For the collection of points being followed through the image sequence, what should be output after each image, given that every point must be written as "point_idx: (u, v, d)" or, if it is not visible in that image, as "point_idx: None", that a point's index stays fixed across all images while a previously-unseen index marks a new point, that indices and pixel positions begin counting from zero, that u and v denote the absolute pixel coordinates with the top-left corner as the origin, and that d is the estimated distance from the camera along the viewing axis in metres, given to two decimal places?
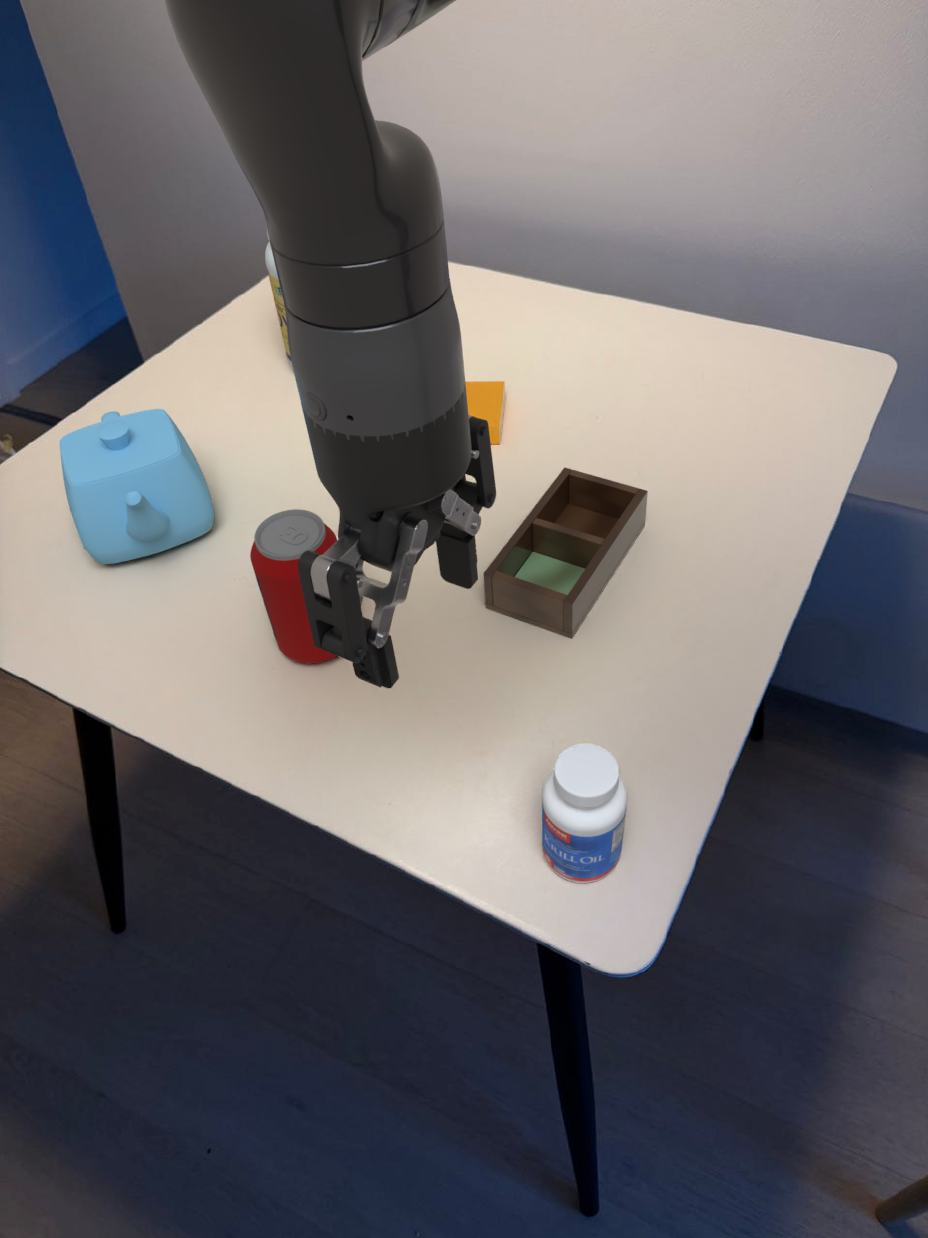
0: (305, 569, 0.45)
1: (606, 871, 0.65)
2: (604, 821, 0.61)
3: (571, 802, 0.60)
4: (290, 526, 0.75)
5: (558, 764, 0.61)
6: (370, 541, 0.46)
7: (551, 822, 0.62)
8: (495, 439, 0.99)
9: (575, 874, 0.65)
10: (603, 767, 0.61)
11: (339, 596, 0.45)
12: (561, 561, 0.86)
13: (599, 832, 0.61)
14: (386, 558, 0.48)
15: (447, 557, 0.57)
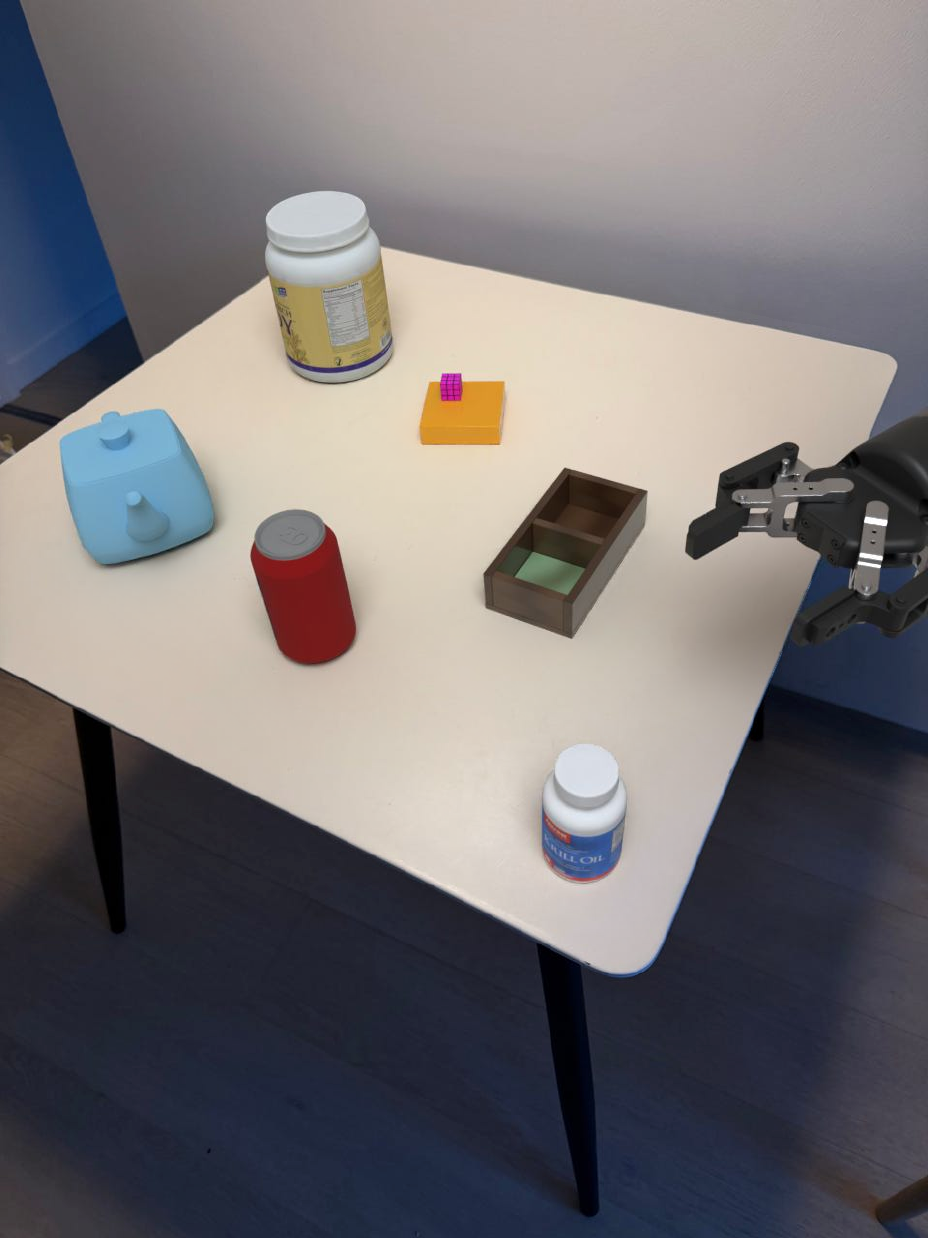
0: None
1: (606, 871, 0.65)
2: (604, 821, 0.61)
3: (571, 802, 0.60)
4: (290, 526, 0.75)
5: (558, 764, 0.61)
6: (819, 468, 0.61)
7: (551, 822, 0.62)
8: (495, 439, 0.99)
9: (575, 874, 0.65)
10: (603, 767, 0.61)
11: None
12: (561, 561, 0.86)
13: (599, 832, 0.61)
14: None
15: None
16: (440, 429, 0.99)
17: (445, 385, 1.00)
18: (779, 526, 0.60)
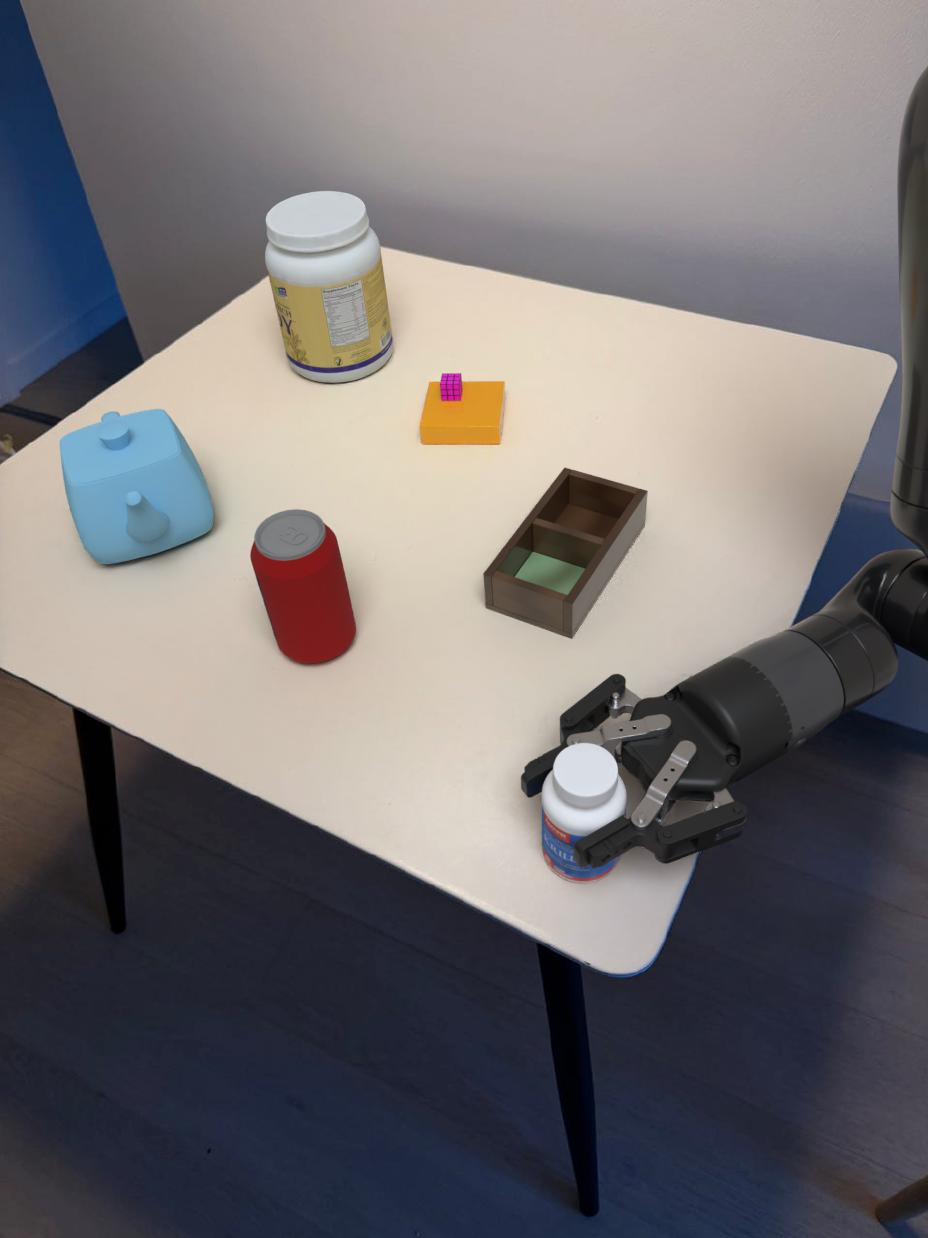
0: None
1: (606, 871, 0.65)
2: (604, 820, 0.61)
3: (570, 801, 0.60)
4: (290, 526, 0.75)
5: (557, 764, 0.61)
6: (649, 697, 0.68)
7: (550, 822, 0.62)
8: (495, 439, 0.99)
9: (575, 874, 0.65)
10: (602, 767, 0.61)
11: (603, 682, 0.69)
12: (561, 561, 0.86)
13: None
14: (636, 714, 0.66)
15: None
16: (440, 429, 0.99)
17: (445, 385, 1.00)
18: None
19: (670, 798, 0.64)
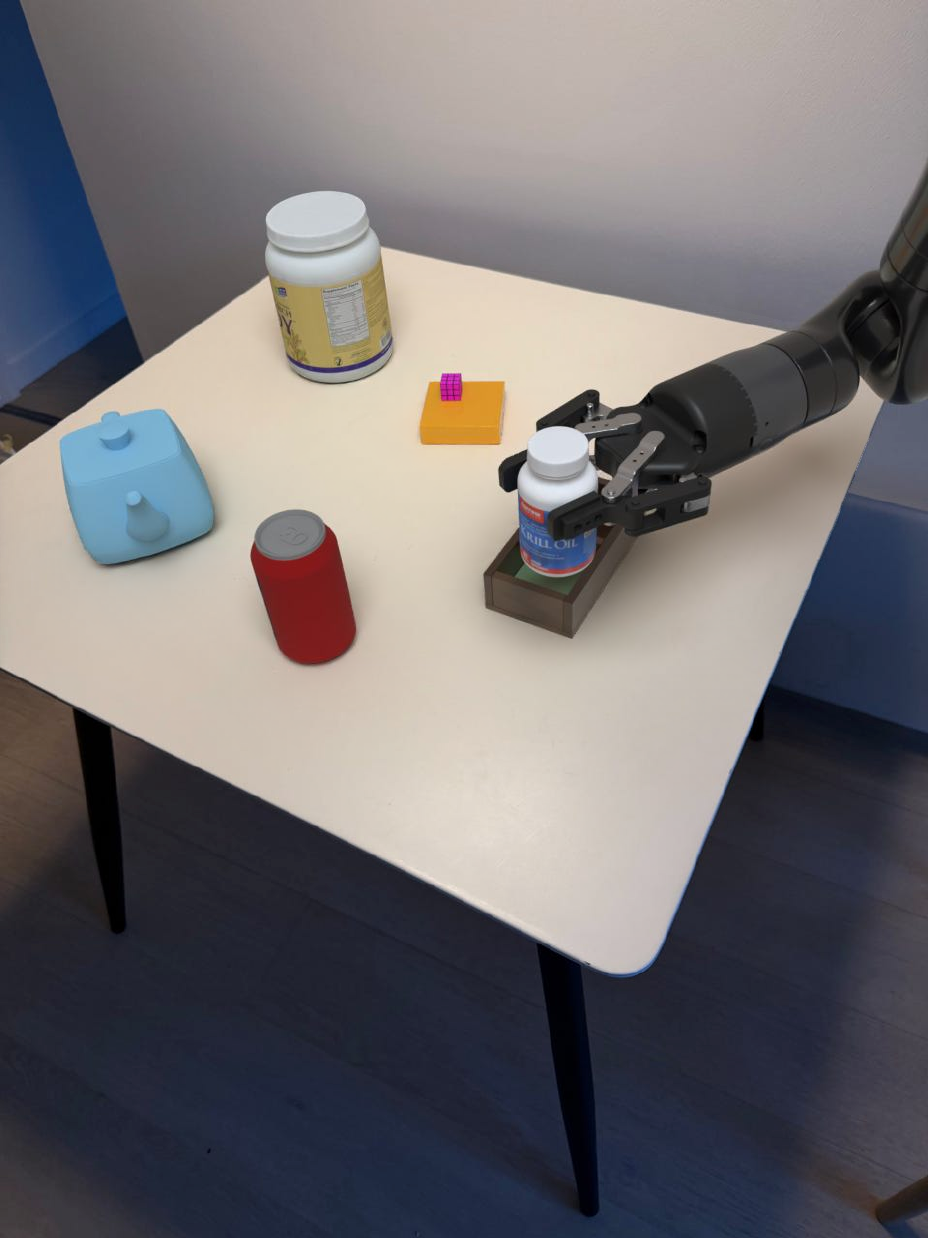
0: None
1: (580, 563, 0.69)
2: (575, 494, 0.64)
3: (543, 473, 0.63)
4: (290, 526, 0.75)
5: (531, 441, 0.64)
6: None
7: (526, 503, 0.66)
8: (495, 439, 0.99)
9: (551, 565, 0.68)
10: (574, 442, 0.64)
11: None
12: None
13: None
14: (609, 418, 0.70)
15: None
16: (440, 429, 0.99)
17: (445, 385, 1.00)
18: None
19: (640, 485, 0.67)
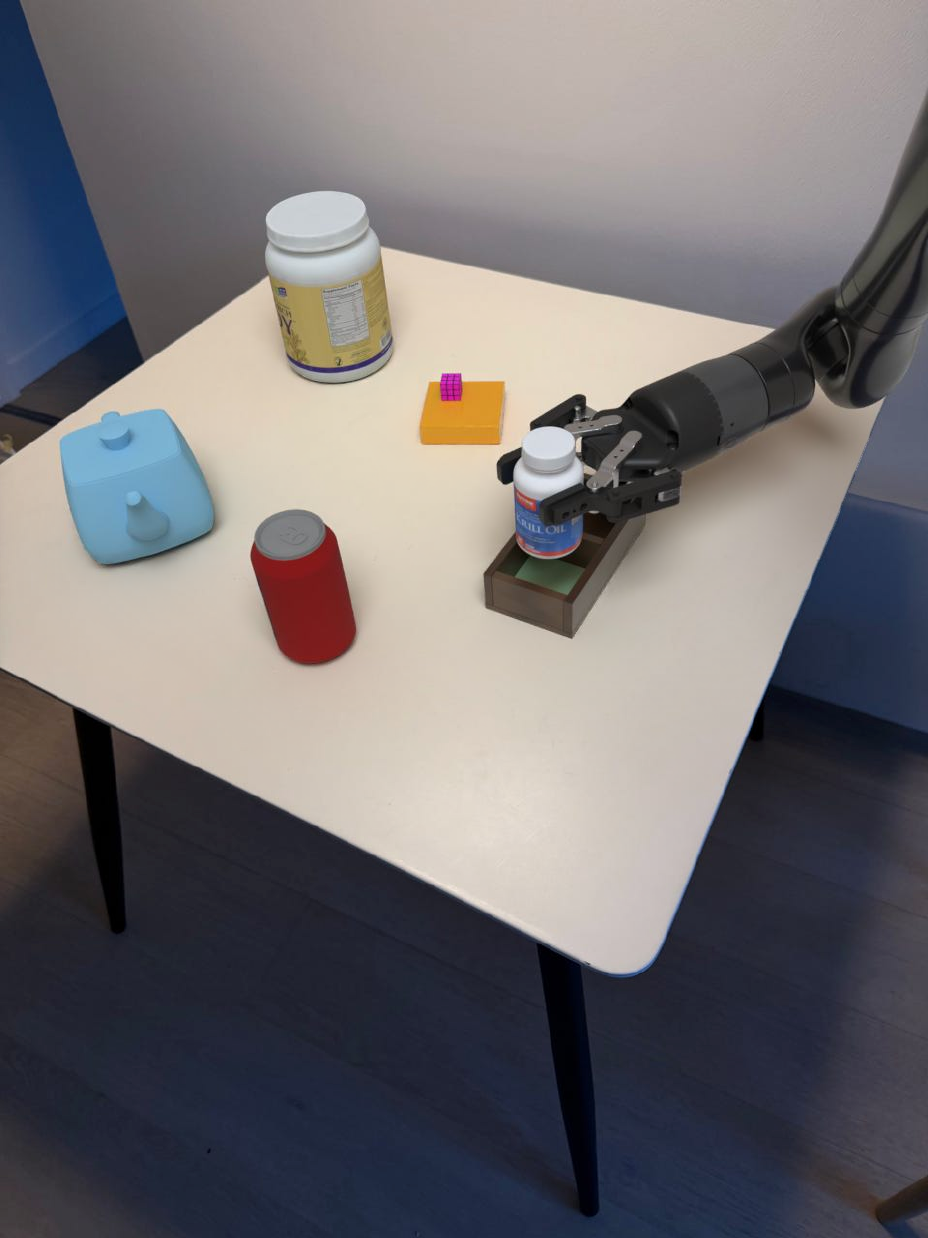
0: None
1: (569, 547, 0.78)
2: (564, 485, 0.74)
3: (535, 467, 0.73)
4: (290, 526, 0.75)
5: (525, 439, 0.74)
6: (605, 409, 0.80)
7: (520, 493, 0.75)
8: (495, 439, 0.99)
9: (542, 548, 0.78)
10: (562, 440, 0.73)
11: None
12: (561, 561, 0.86)
13: None
14: (594, 419, 0.79)
15: None
16: (440, 429, 0.99)
17: (445, 385, 1.00)
18: None
19: (620, 478, 0.76)
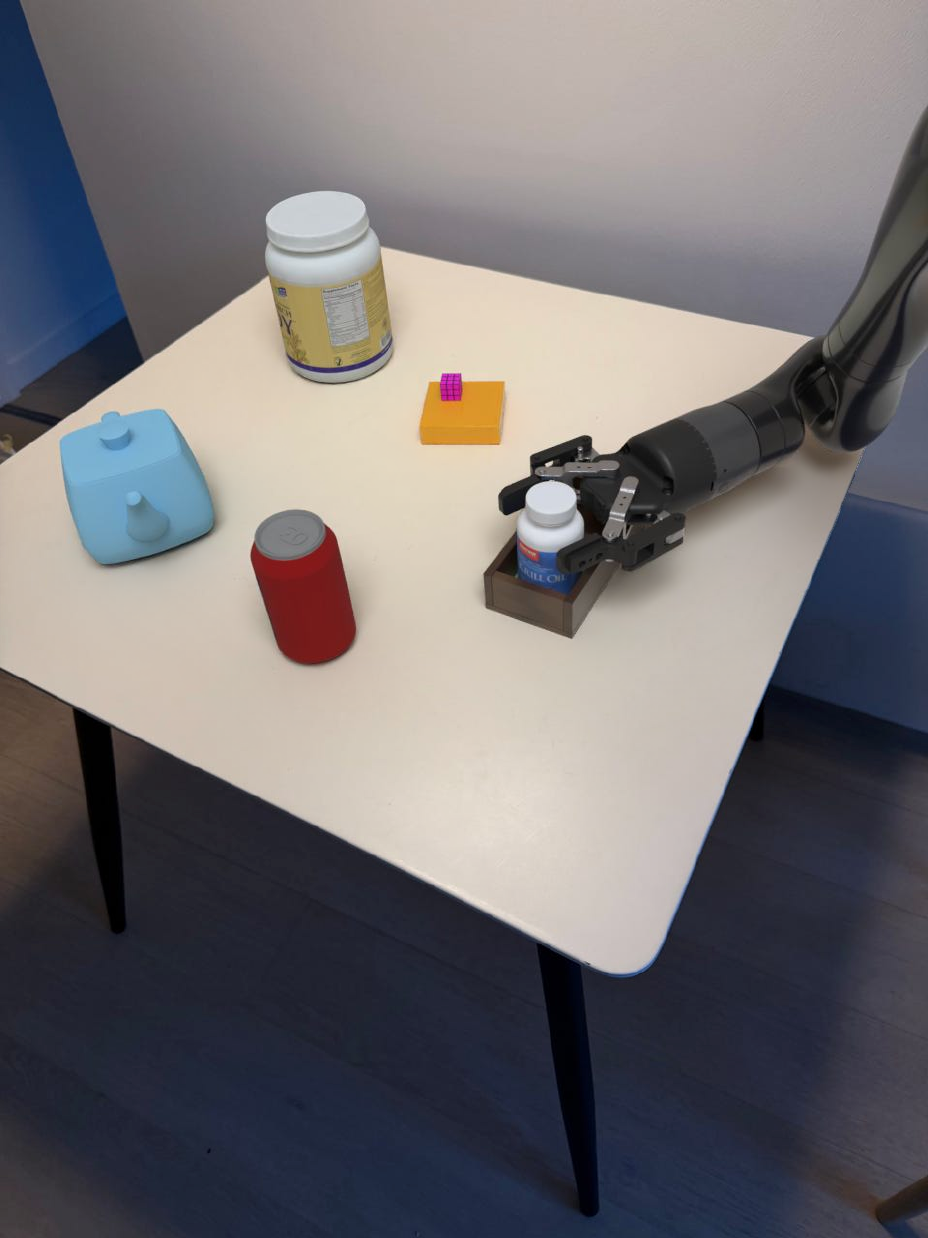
0: None
1: None
2: (565, 538, 0.77)
3: (538, 520, 0.77)
4: (290, 526, 0.75)
5: (529, 494, 0.78)
6: (603, 454, 0.83)
7: (523, 544, 0.79)
8: (495, 439, 0.99)
9: None
10: (564, 495, 0.77)
11: None
12: None
13: None
14: None
15: None
16: (440, 429, 0.99)
17: (445, 385, 1.00)
18: None
19: None
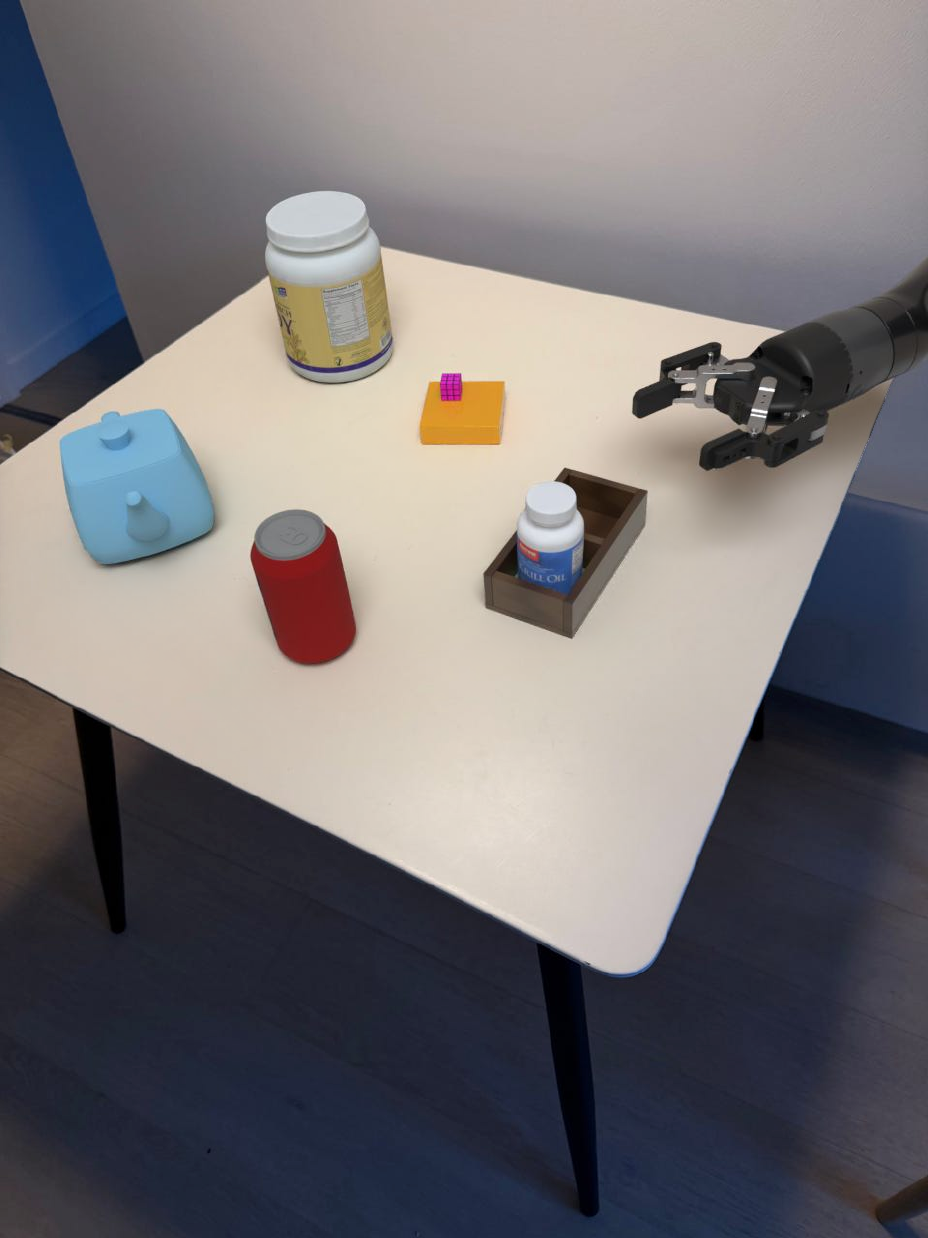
0: None
1: None
2: (565, 538, 0.77)
3: (538, 521, 0.77)
4: (290, 526, 0.75)
5: (528, 494, 0.78)
6: None
7: (523, 544, 0.79)
8: (495, 439, 0.99)
9: None
10: (564, 495, 0.77)
11: None
12: None
13: (561, 548, 0.78)
14: None
15: None
16: (440, 429, 0.99)
17: (445, 385, 1.00)
18: (702, 398, 0.82)
19: None
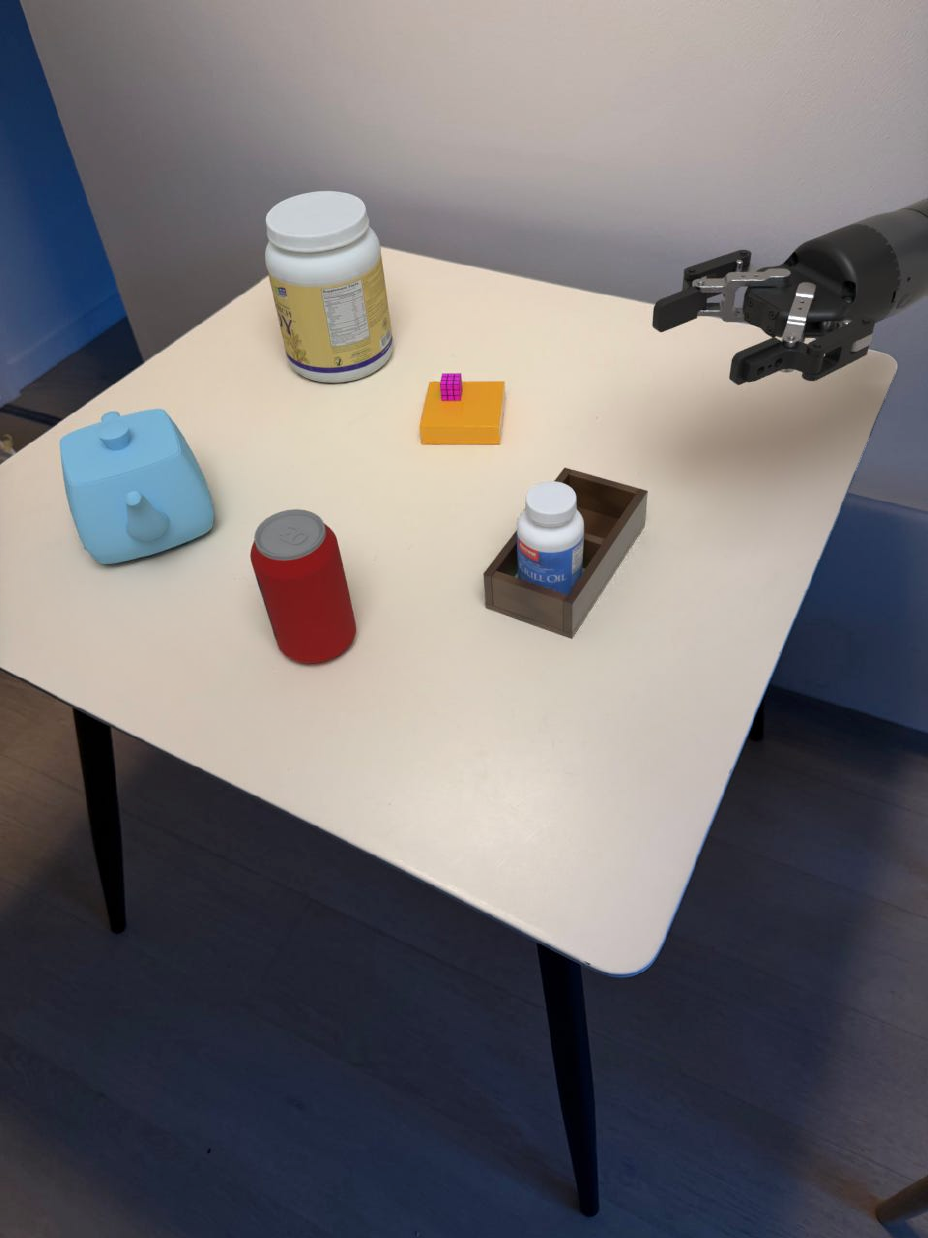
0: None
1: None
2: (565, 538, 0.77)
3: (538, 520, 0.77)
4: (290, 526, 0.75)
5: (528, 494, 0.78)
6: None
7: (523, 544, 0.79)
8: (495, 439, 0.99)
9: None
10: (564, 495, 0.77)
11: None
12: None
13: (561, 548, 0.78)
14: None
15: None
16: (440, 429, 0.99)
17: (445, 385, 1.00)
18: (730, 310, 0.74)
19: None
